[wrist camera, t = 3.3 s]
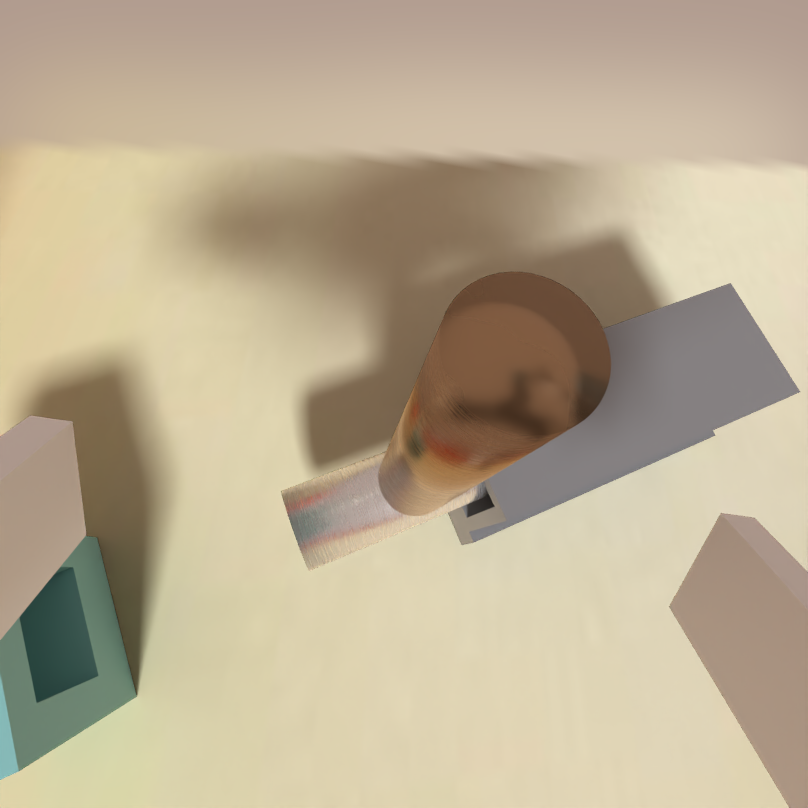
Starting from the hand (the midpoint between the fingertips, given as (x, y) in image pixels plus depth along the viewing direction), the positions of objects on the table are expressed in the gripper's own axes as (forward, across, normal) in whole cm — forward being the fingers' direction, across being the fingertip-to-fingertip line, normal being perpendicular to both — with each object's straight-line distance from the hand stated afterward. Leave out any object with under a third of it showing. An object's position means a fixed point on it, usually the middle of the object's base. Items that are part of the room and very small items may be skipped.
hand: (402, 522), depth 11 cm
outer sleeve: (+15, +9, -5) cm, 19 cm away
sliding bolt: (+11, +5, -5) cm, 13 cm away
